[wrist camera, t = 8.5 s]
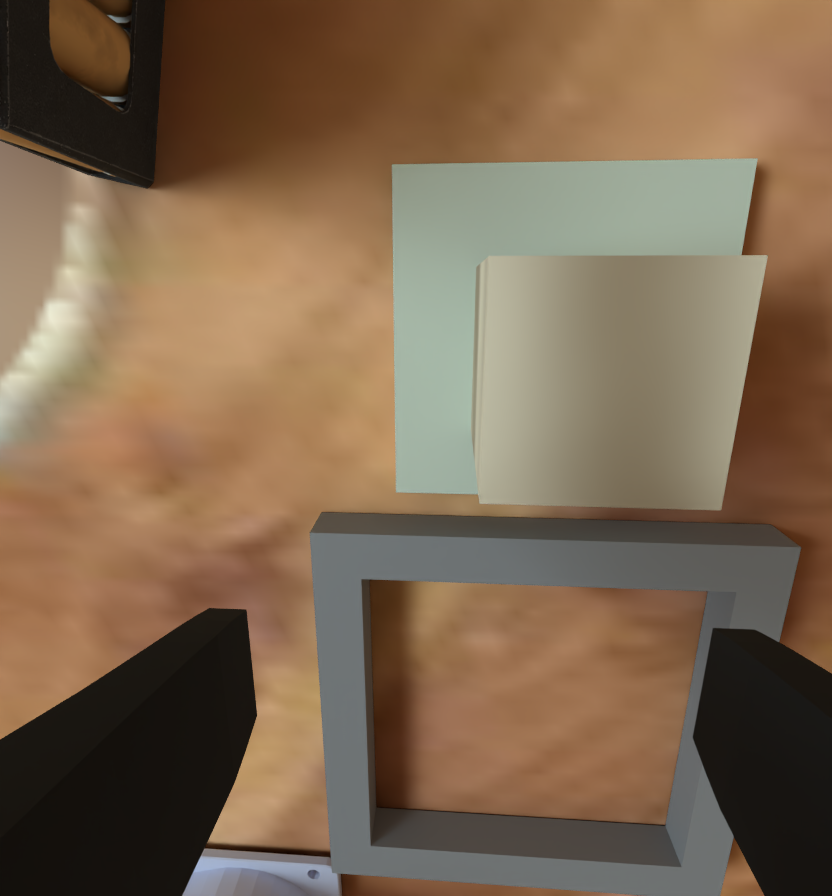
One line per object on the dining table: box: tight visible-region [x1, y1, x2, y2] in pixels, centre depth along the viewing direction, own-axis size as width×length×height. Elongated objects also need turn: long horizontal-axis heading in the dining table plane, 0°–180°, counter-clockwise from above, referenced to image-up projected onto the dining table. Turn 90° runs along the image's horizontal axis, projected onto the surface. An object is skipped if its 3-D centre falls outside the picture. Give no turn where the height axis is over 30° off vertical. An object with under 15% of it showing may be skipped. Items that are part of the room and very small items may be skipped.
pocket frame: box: [310, 512, 801, 896], centre depth 18 cm, size 14×14×2 cm
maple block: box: [471, 255, 768, 510], centre depth 12 cm, size 4×4×6 cm
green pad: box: [392, 159, 757, 494], centre depth 15 cm, size 9×9×1 cm
